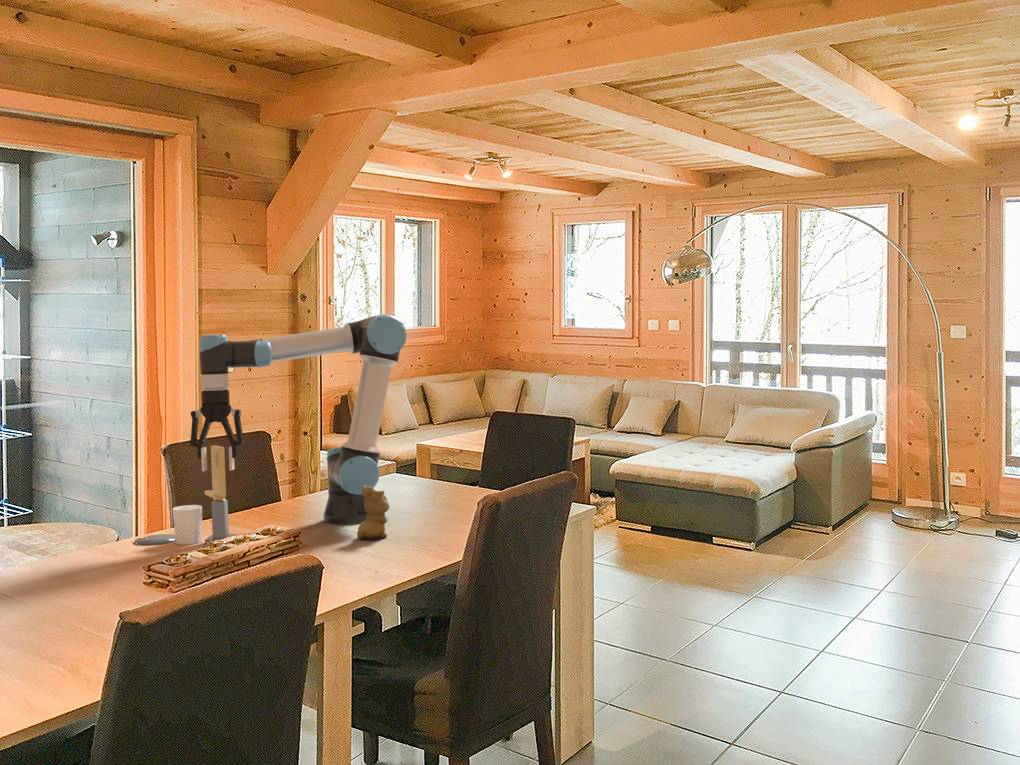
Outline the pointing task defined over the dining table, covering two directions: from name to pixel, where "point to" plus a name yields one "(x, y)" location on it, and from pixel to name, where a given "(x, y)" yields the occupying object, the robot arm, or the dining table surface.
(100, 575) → the dining table surface
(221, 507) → the post
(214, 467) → the tan l-shaped bracket
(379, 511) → the figurine
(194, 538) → the white cup
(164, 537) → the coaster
